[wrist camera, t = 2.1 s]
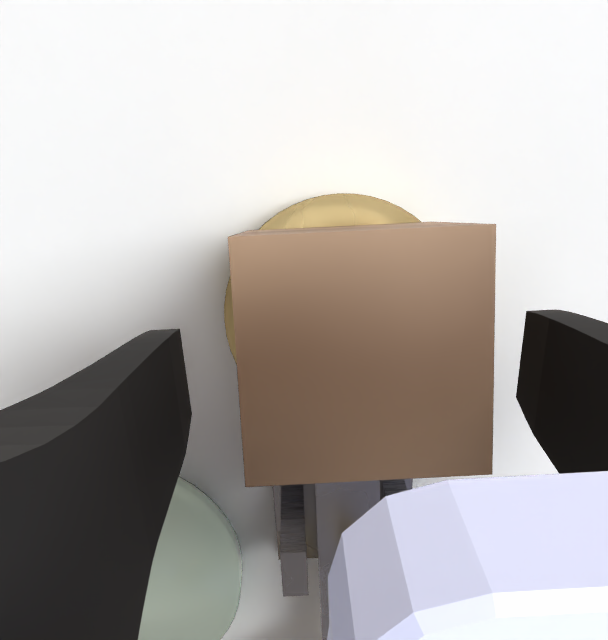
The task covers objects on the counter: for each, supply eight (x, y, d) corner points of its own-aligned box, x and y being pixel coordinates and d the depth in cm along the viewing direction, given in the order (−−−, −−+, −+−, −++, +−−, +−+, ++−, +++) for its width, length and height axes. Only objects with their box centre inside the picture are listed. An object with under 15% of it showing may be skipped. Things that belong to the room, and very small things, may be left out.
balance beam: (447, 806, 19) (478, 924, 16) (267, 816, 19) (262, 938, 16) (446, 190, 15) (486, 183, 12) (222, 200, 15) (203, 197, 12)
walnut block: (432, 396, 15) (492, 474, 10) (260, 405, 15) (245, 486, 10) (431, 221, 14) (496, 224, 9) (248, 230, 14) (228, 236, 9)
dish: (252, 647, 21) (250, 672, 20) (12, 660, 21) (-1, 687, 20) (229, 448, 18) (226, 468, 17) (-59, 463, 18) (-78, 484, 17)
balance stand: (406, 541, 19) (428, 623, 16) (278, 548, 19) (277, 631, 16) (410, 433, 18) (435, 504, 15) (270, 441, 18) (267, 513, 15)
